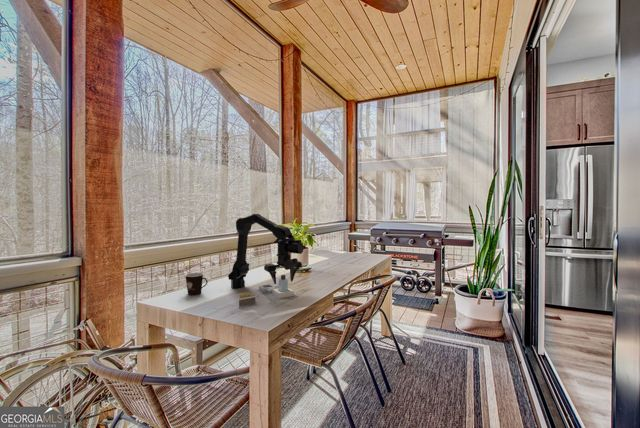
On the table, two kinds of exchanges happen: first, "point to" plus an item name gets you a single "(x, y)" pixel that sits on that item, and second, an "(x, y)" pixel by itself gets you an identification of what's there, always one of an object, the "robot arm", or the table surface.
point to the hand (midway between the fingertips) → (283, 282)
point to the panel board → (272, 296)
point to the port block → (283, 293)
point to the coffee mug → (194, 283)
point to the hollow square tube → (266, 288)
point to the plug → (283, 284)
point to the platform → (247, 298)
